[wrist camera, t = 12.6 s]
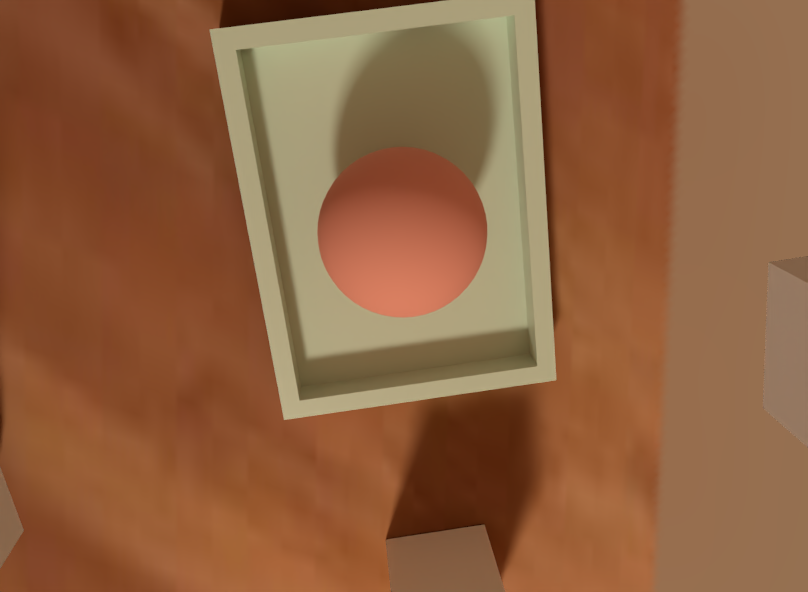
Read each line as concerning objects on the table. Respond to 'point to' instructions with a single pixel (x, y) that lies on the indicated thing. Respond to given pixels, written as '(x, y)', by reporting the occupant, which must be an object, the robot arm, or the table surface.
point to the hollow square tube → (444, 562)
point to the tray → (379, 129)
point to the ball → (402, 232)
